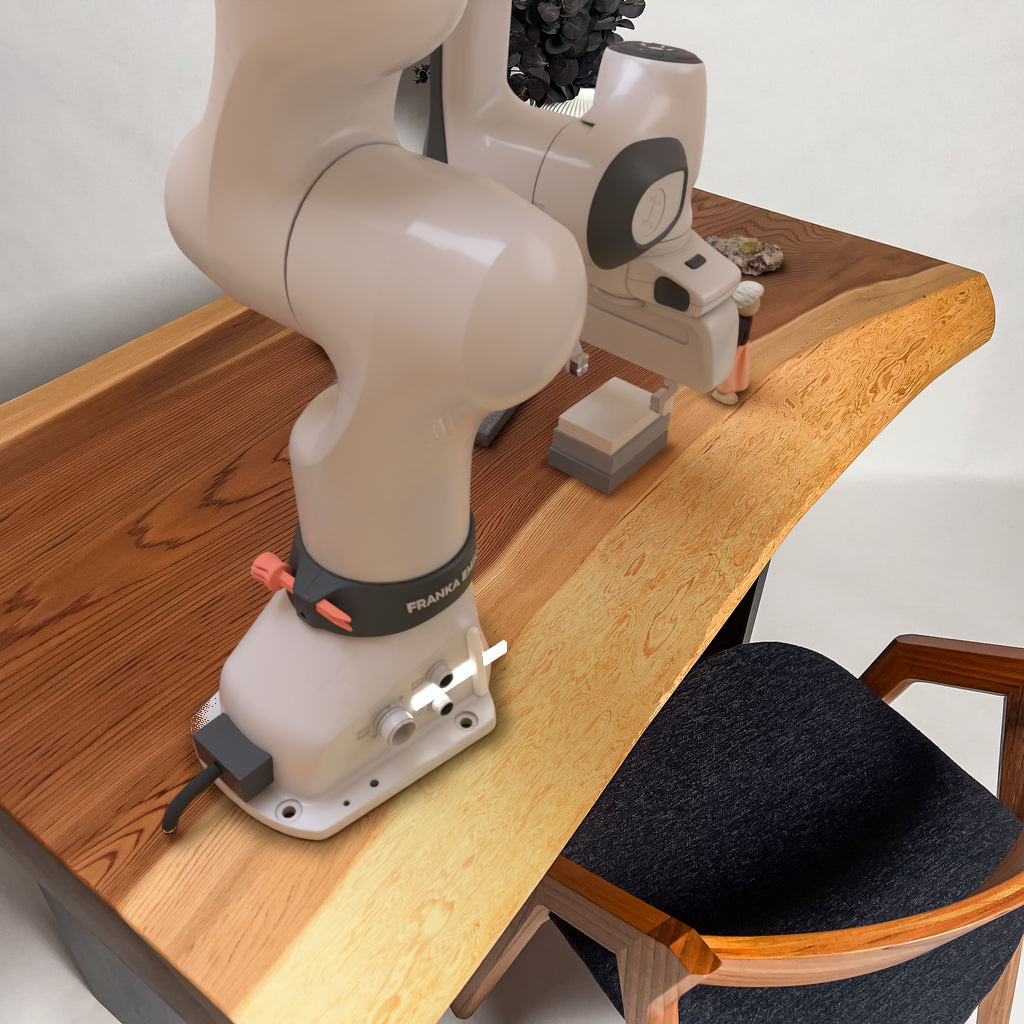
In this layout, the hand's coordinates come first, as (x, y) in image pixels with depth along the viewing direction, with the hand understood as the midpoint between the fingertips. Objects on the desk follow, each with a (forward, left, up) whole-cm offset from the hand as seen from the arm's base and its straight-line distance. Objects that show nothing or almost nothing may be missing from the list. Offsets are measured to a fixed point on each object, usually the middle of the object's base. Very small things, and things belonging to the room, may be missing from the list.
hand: (617, 390), depth 89 cm
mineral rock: (+45, +11, -7) cm, 47 cm away
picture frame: (-4, +20, -7) cm, 22 cm away
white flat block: (-1, 0, -3) cm, 3 cm away
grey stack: (-1, 0, -7) cm, 7 cm away
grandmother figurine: (+17, -3, -7) cm, 19 cm away
